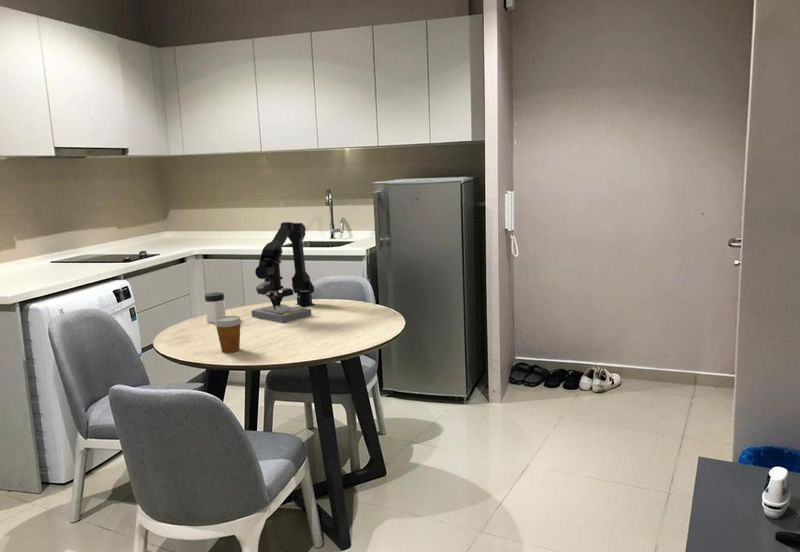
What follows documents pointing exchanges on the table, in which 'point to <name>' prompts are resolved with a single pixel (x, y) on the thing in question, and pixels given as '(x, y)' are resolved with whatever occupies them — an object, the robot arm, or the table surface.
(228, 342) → the disposable coffee cup
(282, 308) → the slider knob
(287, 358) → the table surface
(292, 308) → the offwhite button
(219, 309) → the jar
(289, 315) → the control panel
